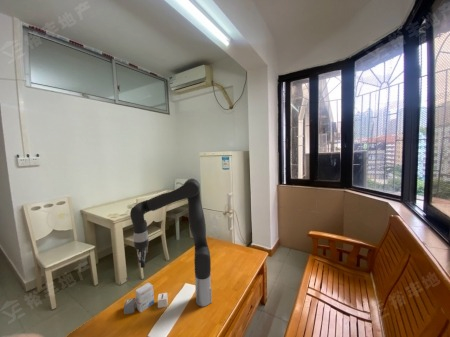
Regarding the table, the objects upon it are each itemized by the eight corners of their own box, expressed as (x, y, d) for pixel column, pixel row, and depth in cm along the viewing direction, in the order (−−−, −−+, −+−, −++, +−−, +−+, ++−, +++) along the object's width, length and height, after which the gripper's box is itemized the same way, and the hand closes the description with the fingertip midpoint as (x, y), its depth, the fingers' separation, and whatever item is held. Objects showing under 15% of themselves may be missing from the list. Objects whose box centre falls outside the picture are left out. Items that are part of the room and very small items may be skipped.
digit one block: (167, 299, 115) (167, 292, 115) (166, 306, 110) (166, 298, 110) (159, 301, 114) (158, 293, 114) (158, 308, 109) (157, 300, 109)
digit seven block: (136, 305, 111) (135, 297, 111) (133, 312, 107) (133, 304, 106) (127, 307, 110) (126, 299, 110) (124, 314, 106) (123, 306, 105)
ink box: (150, 299, 116) (148, 281, 115) (154, 303, 113) (153, 285, 112) (136, 308, 110) (134, 289, 108) (140, 313, 106) (139, 294, 105)
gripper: (145, 243, 101) (147, 273, 103) (150, 232, 113) (151, 259, 115) (130, 245, 99) (132, 275, 101) (136, 233, 112) (138, 261, 114)
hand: (142, 266), depth 108 cm, fingers closed
